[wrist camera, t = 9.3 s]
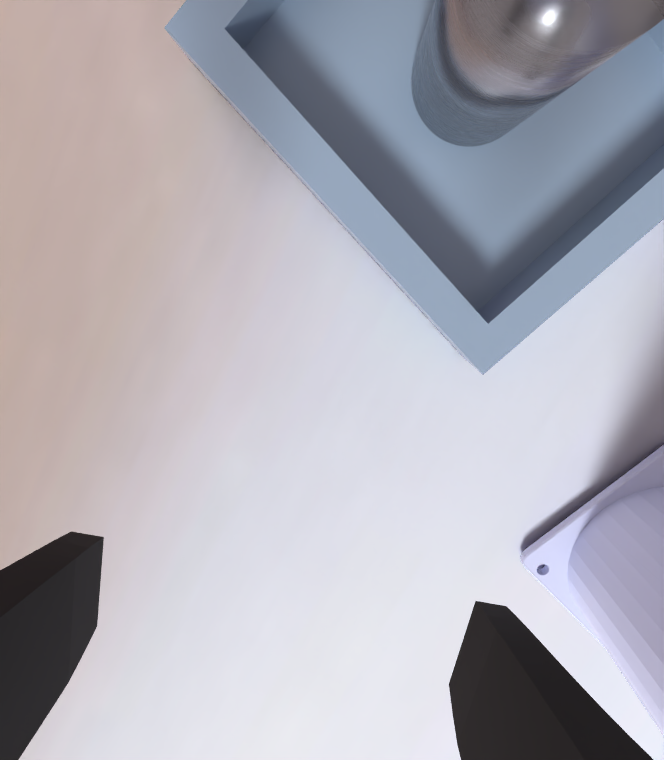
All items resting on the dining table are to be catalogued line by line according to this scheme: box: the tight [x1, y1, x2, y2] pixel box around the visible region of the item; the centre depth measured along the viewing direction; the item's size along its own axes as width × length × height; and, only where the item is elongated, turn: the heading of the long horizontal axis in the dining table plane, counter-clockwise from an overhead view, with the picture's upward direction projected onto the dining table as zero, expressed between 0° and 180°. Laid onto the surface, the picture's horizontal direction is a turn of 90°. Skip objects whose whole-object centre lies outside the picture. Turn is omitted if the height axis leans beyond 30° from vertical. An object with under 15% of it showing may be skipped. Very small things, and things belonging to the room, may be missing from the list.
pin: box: [411, 0, 664, 147], centre depth 12 cm, size 4×4×8 cm
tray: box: [165, 0, 664, 374], centre depth 15 cm, size 14×12×2 cm
